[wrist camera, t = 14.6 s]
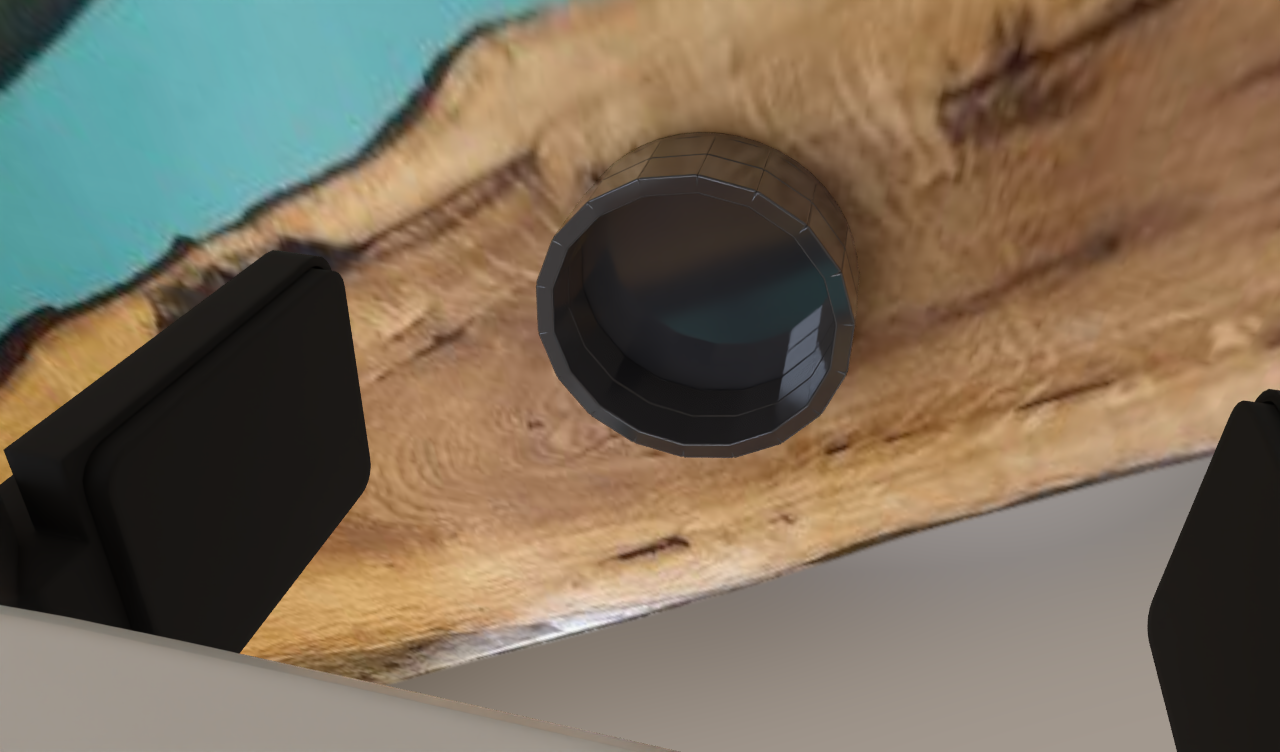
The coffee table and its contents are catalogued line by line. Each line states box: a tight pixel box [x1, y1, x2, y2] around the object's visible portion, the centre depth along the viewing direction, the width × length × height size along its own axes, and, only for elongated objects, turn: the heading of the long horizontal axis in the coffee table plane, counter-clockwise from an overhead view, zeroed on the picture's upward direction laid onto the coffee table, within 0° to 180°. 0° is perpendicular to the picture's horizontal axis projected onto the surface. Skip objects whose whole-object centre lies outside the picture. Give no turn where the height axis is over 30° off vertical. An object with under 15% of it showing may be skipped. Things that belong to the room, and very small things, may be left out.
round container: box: [536, 132, 860, 458], centre depth 33 cm, size 10×10×4 cm
